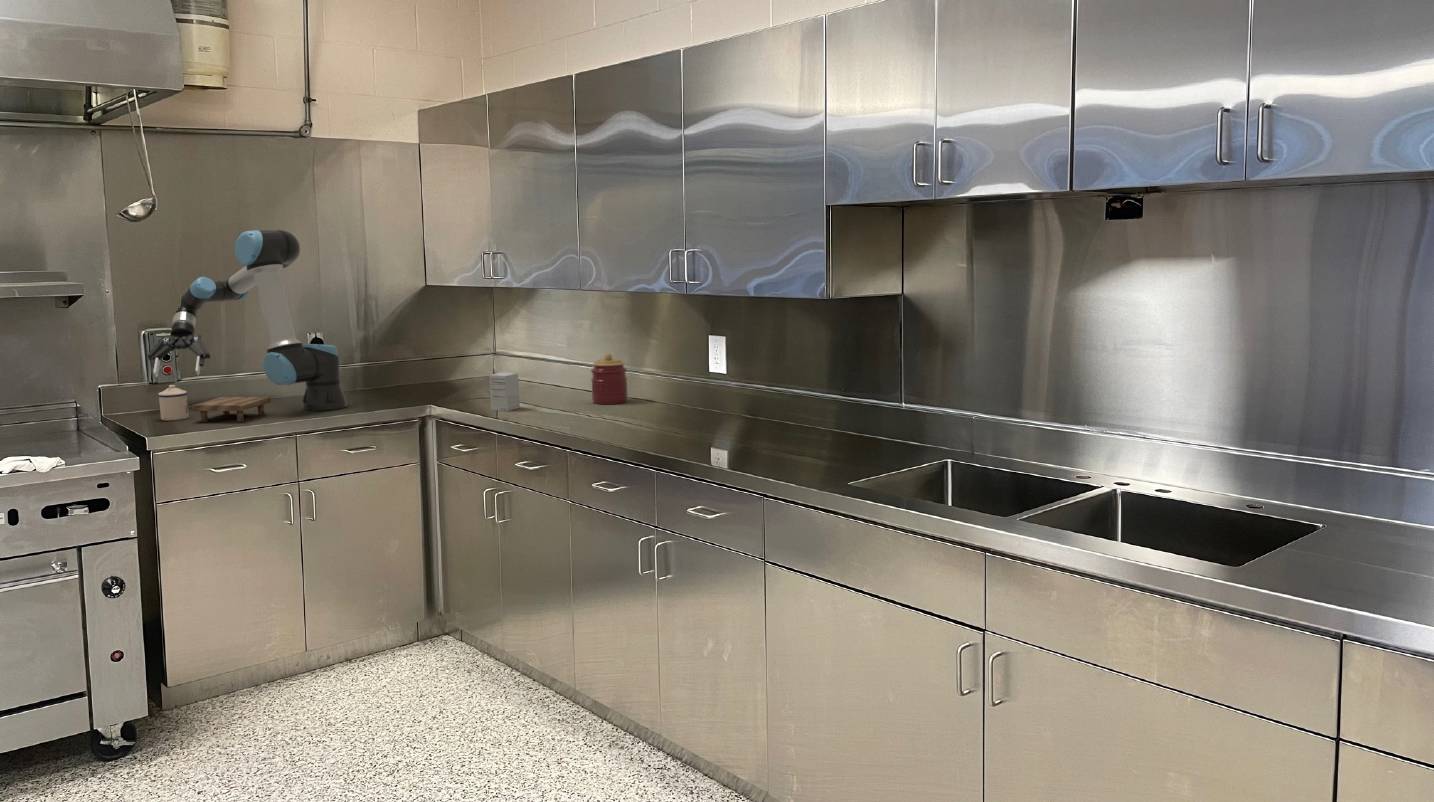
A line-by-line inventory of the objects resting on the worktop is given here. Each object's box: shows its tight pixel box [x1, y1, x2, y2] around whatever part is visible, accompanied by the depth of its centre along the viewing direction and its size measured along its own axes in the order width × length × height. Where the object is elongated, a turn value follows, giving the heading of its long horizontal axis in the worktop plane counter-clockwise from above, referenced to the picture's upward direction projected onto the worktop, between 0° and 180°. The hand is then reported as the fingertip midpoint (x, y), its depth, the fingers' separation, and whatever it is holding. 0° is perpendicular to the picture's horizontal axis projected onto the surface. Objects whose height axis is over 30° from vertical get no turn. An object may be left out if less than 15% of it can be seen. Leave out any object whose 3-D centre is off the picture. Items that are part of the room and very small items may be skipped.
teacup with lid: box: [157, 384, 190, 422], centre depth 367 cm, size 12×9×12 cm
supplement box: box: [489, 371, 521, 412], centre depth 373 cm, size 7×7×13 cm
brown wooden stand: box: [191, 396, 272, 423], centre depth 365 cm, size 18×18×6 cm
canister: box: [590, 353, 629, 405], centre depth 384 cm, size 13×13×18 cm
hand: (176, 373), depth 375 cm, fingers open, 13 cm apart
